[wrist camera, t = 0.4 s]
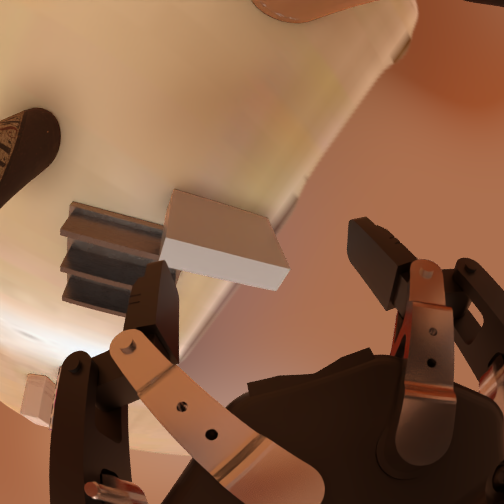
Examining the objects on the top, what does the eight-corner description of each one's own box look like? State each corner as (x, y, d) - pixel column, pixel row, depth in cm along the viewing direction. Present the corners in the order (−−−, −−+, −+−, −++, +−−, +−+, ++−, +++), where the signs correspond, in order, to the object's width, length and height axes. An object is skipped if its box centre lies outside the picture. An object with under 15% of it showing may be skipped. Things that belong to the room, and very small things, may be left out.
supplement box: (27, 372, 48) (18, 413, 38) (46, 375, 49) (38, 418, 39) (41, 386, 52) (34, 424, 42) (60, 389, 53) (54, 429, 43)
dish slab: (173, 188, 30) (165, 237, 22) (267, 217, 34) (290, 269, 26) (166, 211, 31) (157, 264, 23) (257, 236, 36) (276, 291, 28)
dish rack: (72, 201, 28) (56, 222, 24) (192, 233, 34) (193, 258, 30) (69, 278, 34) (59, 302, 30) (168, 303, 40) (167, 329, 36)
